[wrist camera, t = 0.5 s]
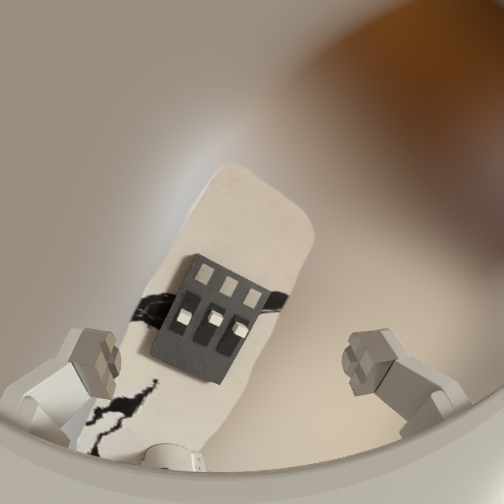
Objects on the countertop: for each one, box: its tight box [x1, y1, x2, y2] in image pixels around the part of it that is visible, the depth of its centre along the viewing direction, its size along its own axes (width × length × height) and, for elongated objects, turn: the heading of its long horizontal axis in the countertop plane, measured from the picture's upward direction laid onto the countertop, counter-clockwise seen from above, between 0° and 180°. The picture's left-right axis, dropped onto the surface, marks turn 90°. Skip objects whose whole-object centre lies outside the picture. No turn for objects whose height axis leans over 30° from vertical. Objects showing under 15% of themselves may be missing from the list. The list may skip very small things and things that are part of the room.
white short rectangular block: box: [232, 321, 248, 338], centre depth 53 cm, size 2×2×3 cm
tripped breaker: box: [177, 309, 192, 325], centre depth 51 cm, size 2×2×3 cm
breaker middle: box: [208, 310, 223, 326], centre depth 52 cm, size 2×2×3 cm
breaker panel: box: [149, 254, 271, 385], centre depth 55 cm, size 24×17×4 cm
